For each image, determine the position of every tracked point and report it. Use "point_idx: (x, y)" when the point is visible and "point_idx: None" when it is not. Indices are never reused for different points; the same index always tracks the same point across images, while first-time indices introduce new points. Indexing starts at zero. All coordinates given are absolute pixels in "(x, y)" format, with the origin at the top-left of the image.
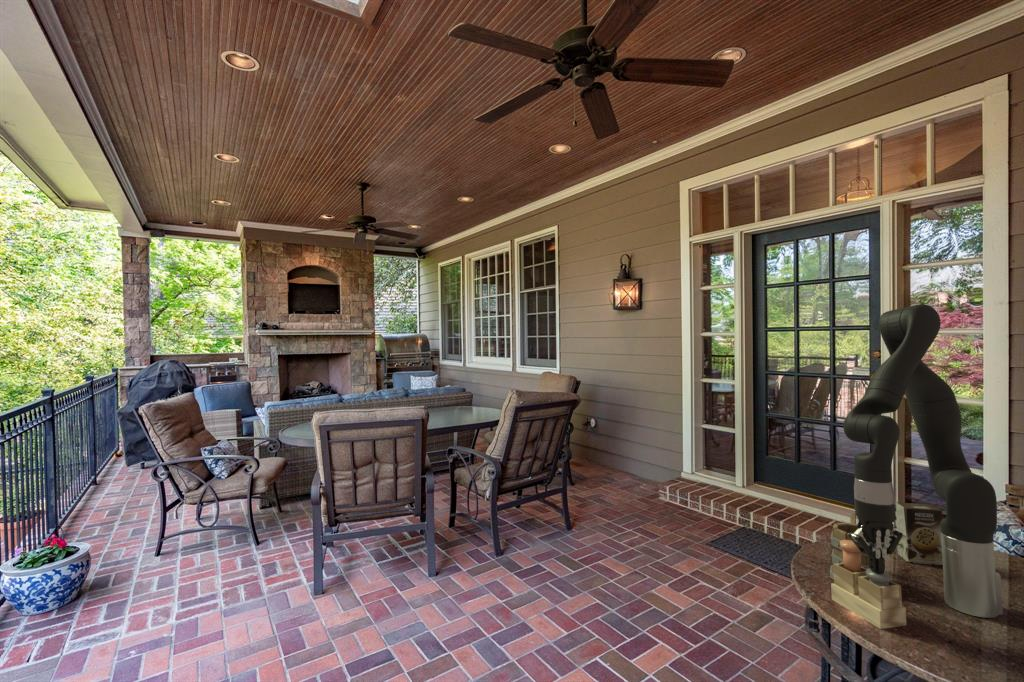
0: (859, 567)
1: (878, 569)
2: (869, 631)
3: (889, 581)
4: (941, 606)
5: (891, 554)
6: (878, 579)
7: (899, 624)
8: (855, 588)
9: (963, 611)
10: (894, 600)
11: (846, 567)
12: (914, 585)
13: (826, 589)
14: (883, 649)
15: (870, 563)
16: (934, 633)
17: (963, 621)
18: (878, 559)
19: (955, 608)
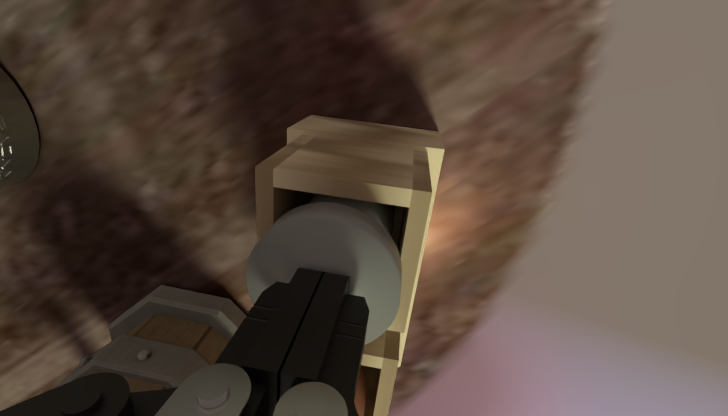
0: None
1: (341, 299)
2: (499, 136)
3: (322, 203)
4: (67, 159)
5: (105, 372)
6: (390, 243)
7: (342, 121)
8: None
9: (19, 99)
10: (336, 150)
11: (364, 408)
12: (50, 273)
13: None
14: (600, 15)
15: (359, 371)
16: (258, 35)
17: (72, 60)
18: (320, 373)
19: (32, 124)
